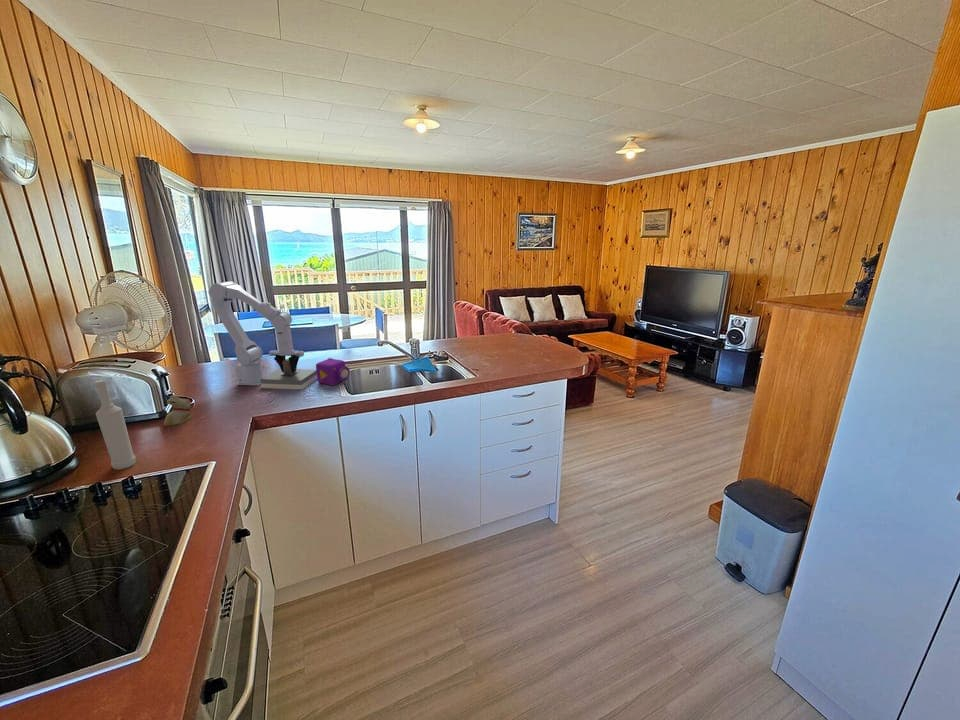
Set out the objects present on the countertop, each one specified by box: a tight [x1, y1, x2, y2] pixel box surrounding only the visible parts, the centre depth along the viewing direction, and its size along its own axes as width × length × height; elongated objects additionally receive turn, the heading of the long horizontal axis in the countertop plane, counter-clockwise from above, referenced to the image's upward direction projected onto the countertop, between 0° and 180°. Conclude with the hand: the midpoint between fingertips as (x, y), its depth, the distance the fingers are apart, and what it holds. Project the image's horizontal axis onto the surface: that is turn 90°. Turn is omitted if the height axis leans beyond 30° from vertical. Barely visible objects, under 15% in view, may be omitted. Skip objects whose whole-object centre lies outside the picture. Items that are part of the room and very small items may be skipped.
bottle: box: [94, 379, 137, 470], centre depth 107 cm, size 5×5×25 cm
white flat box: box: [260, 368, 317, 390], centre depth 173 cm, size 18×14×4 cm
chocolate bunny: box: [163, 394, 192, 427], centre depth 136 cm, size 6×8×10 cm
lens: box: [282, 358, 294, 377], centre depth 172 cm, size 4×4×7 cm
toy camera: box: [315, 357, 351, 386], centre depth 174 cm, size 11×14×10 cm
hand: (289, 371), depth 172 cm, fingers closed on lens, 4 cm apart
